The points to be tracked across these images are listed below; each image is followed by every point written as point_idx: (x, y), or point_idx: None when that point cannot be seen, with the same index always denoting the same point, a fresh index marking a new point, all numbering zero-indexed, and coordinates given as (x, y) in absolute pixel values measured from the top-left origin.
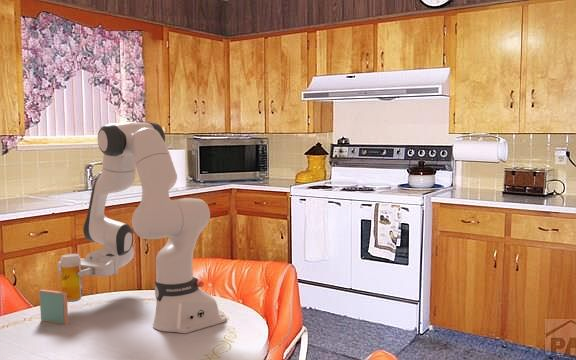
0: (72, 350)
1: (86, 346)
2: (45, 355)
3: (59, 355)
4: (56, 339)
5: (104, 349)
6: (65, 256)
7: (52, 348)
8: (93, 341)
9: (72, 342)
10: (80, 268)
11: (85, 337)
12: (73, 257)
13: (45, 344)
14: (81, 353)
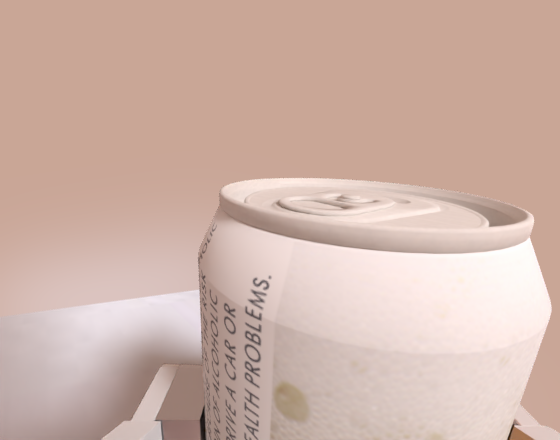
0: (112, 314)
1: (77, 332)
2: (165, 294)
3: (136, 298)
4: (180, 341)
5: (20, 331)
6: (383, 195)
7: (165, 311)
8: (57, 355)
9: (125, 339)
10: (208, 432)
11: (89, 369)
12: (243, 192)
13: (193, 319)
14: (86, 310)
